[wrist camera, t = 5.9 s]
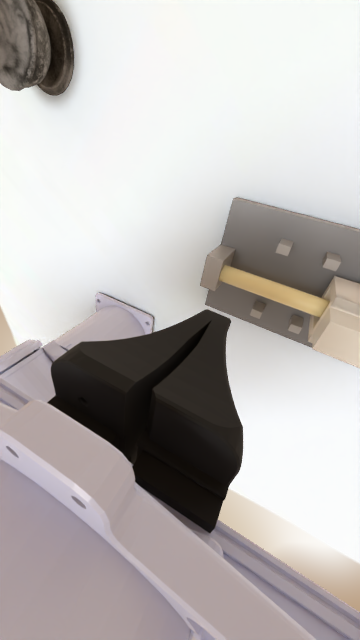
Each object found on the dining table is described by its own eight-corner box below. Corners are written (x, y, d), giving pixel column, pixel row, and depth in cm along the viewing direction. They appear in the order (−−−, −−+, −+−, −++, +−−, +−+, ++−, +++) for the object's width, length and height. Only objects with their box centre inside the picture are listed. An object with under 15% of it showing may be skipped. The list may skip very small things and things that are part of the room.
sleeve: (368, 338, 17) (381, 388, 13) (310, 316, 18) (306, 357, 14) (402, 297, 15) (429, 342, 11) (334, 275, 16) (337, 310, 12)
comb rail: (383, 369, 19) (395, 410, 16) (208, 300, 23) (190, 322, 20) (487, 262, 14) (537, 293, 11) (236, 197, 18) (217, 204, 15)
